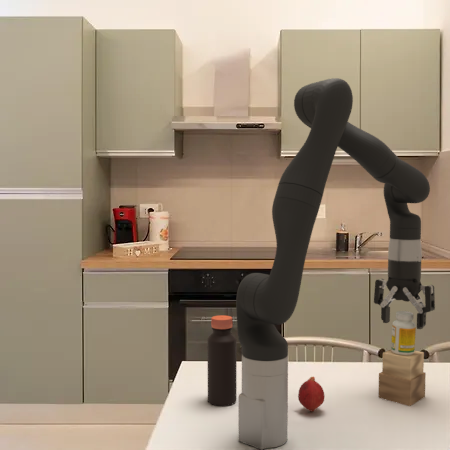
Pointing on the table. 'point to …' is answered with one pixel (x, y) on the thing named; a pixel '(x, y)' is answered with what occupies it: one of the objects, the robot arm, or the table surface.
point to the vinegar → (221, 362)
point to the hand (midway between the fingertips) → (402, 325)
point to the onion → (311, 394)
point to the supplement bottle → (403, 333)
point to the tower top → (403, 364)
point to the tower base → (402, 389)
